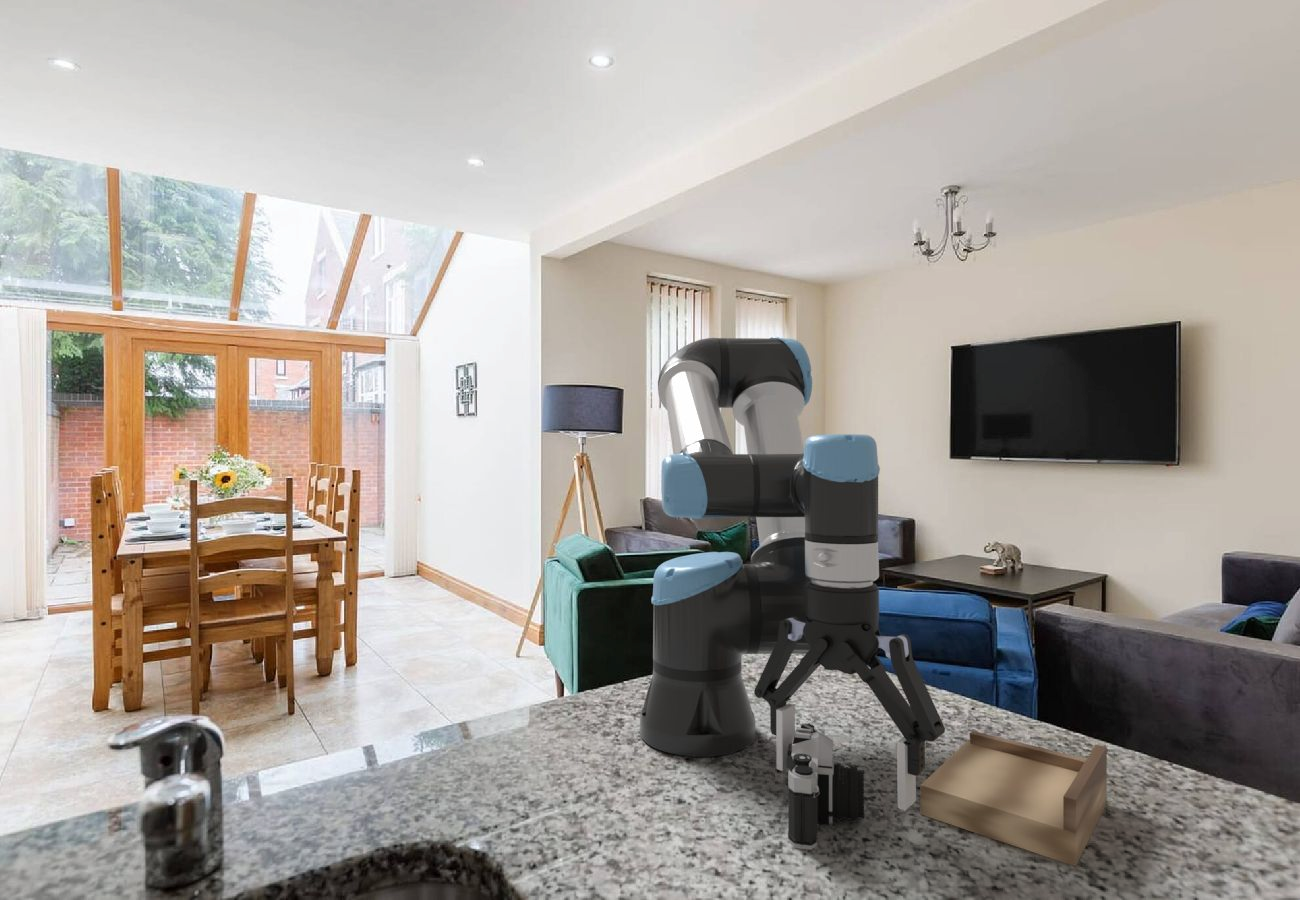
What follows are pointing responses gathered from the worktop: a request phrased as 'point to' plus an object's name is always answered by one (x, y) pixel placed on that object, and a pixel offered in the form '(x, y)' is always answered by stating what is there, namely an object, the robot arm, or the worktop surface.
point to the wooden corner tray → (1020, 795)
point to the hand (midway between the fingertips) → (842, 784)
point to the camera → (819, 787)
